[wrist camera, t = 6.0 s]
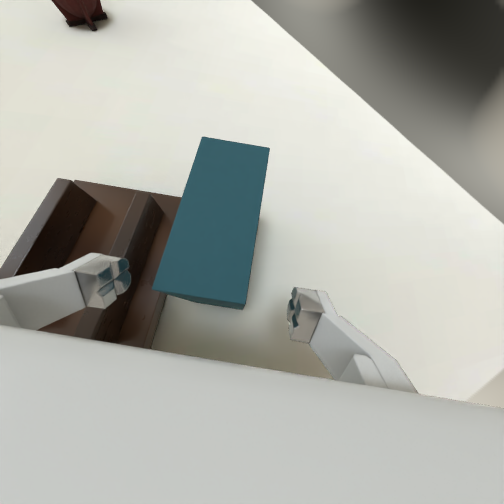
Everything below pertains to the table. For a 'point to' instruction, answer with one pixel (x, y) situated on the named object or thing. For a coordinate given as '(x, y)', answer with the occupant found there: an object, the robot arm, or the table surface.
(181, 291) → the back pad
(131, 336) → the board
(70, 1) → the mate gourd
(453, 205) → the table surface
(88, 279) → the robot arm
